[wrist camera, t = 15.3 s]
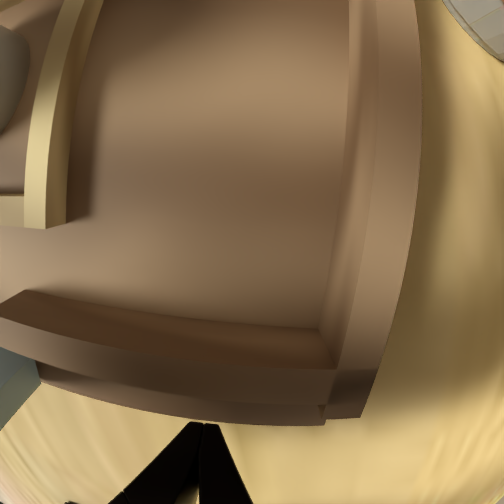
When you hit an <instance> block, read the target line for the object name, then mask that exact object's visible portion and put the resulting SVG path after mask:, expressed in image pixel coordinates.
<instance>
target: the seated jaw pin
mask: <svg viewBox="0 0 504 504" xmlns="http://www.w3.org/2000/svg"><path fill="white" fill-rule="evenodd" d="M29 66H30V49H29V45H28V43H27V41H26V40H25V38H24V37H22V36H21V35H19V34H17V33H15V32H14V31H12V30H10V29H8V28H6V27H4V26H2V25H0V134H1V133H2V131H3V130H4V129H5V127H6V126H7V124H8V122H9V121H10V119H11V117H12V116H13V114H14V112H15V110H16V108H17V106H18V104H19V101H20V99H21V96H22V94H23V91H24V88H25V85H26V81H27V77H28V72H29Z"/></svg>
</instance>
